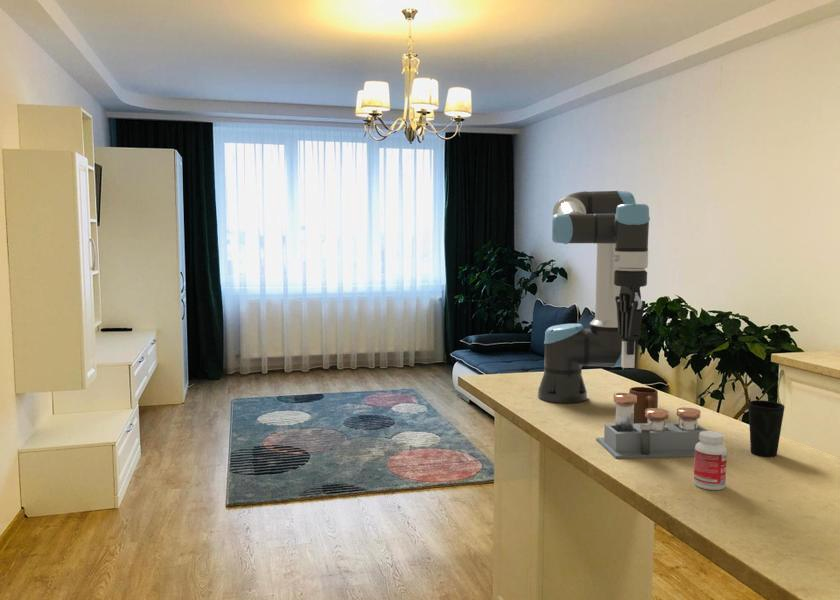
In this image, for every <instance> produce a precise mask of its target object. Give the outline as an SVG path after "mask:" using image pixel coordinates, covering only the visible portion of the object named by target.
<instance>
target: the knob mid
mask: <svg viewBox="0 0 840 600" xmlns="http://www.w3.org/2000/svg"><path fill="white" fill-rule="evenodd" d="M669 413H670V412H669V411H668V410H667V409H663V408H648V409H646V410H645V417H647V424H649V425H652V430H650V431H665V425H666V423H667V420H668V419H669Z"/></svg>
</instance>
